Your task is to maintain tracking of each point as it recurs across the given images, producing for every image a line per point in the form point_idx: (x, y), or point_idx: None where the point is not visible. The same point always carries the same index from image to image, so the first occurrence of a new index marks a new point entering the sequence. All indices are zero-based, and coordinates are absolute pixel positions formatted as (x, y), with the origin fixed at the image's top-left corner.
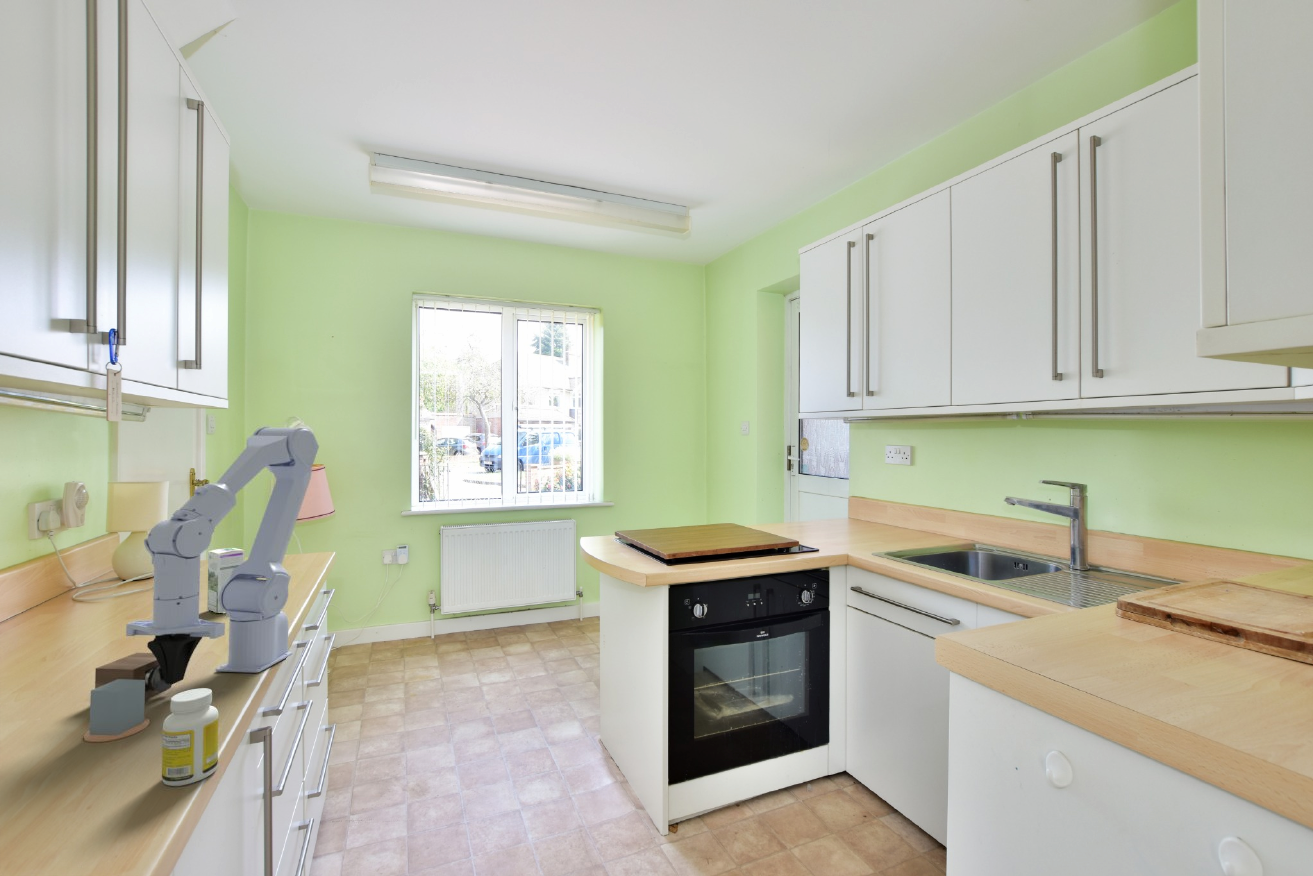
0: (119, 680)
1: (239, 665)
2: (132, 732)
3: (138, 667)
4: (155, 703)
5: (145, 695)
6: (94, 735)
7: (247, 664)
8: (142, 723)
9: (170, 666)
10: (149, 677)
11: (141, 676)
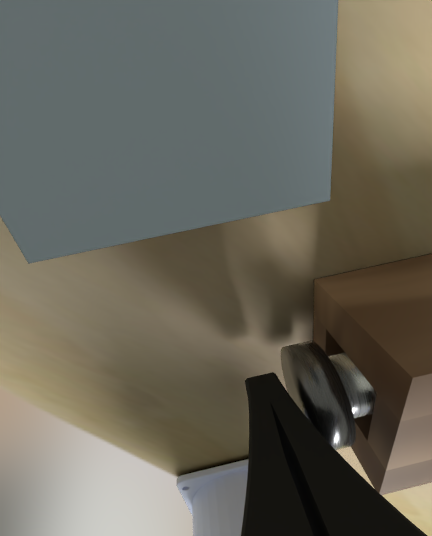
0: (281, 172)
1: (230, 484)
2: None
3: (406, 398)
4: (260, 310)
5: (319, 324)
6: None
7: (214, 492)
8: None
9: (266, 448)
10: (333, 373)
11: (366, 367)
